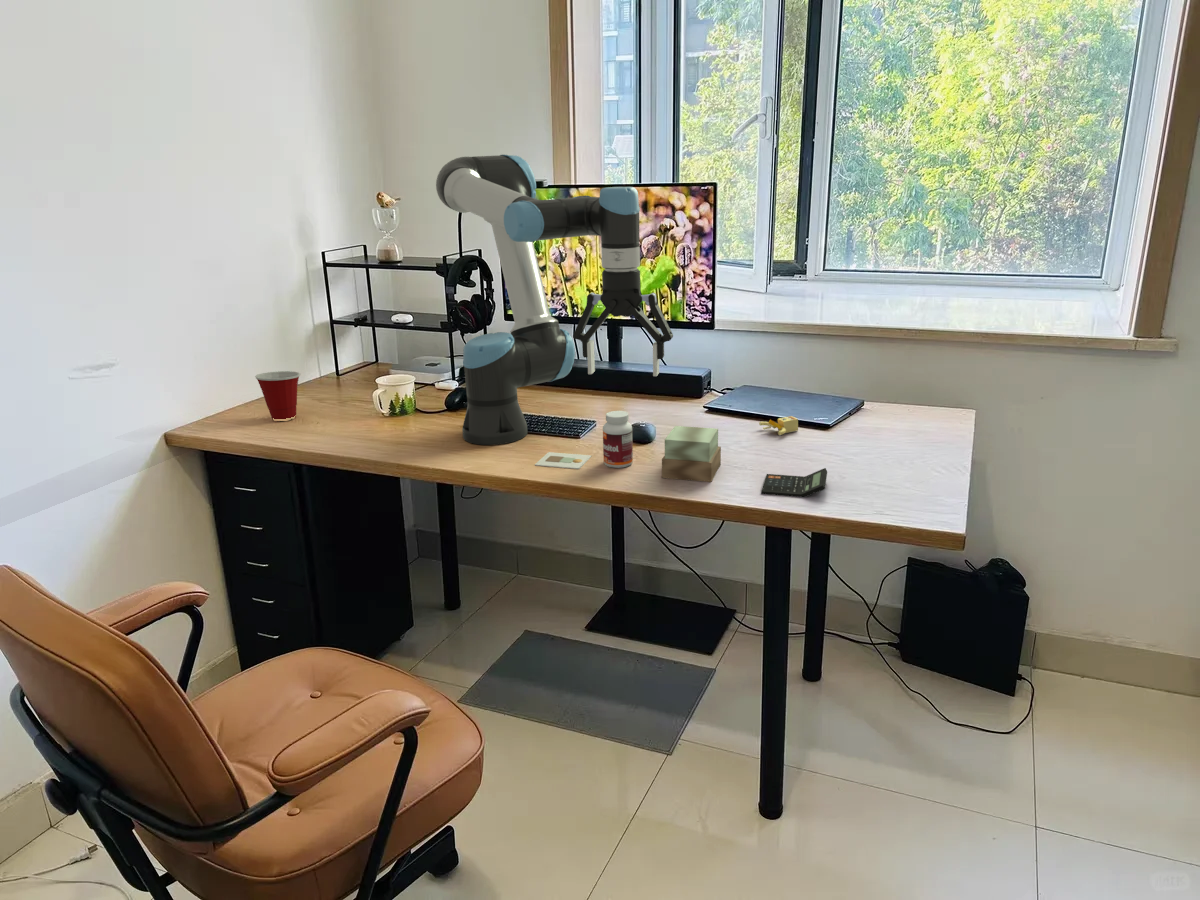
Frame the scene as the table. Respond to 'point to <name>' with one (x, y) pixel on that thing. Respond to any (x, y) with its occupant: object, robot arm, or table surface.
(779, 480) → the calculator
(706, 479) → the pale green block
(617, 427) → the pill bottle
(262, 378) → the plastic cup
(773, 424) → the character toy
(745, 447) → the table surface
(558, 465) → the page
